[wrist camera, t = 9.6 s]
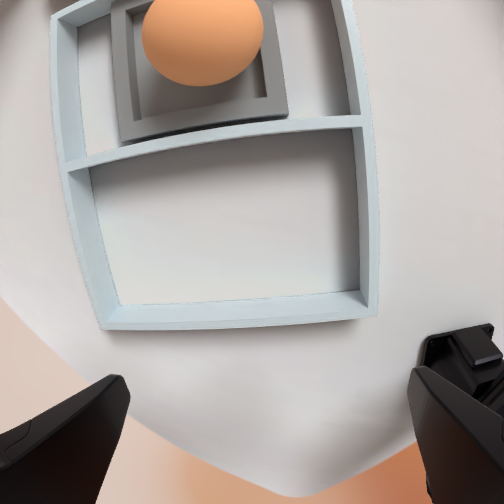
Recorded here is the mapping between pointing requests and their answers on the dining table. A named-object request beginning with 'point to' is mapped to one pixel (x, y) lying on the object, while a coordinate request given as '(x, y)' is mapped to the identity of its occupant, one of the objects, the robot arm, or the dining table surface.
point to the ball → (202, 39)
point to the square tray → (183, 96)
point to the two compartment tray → (78, 163)
